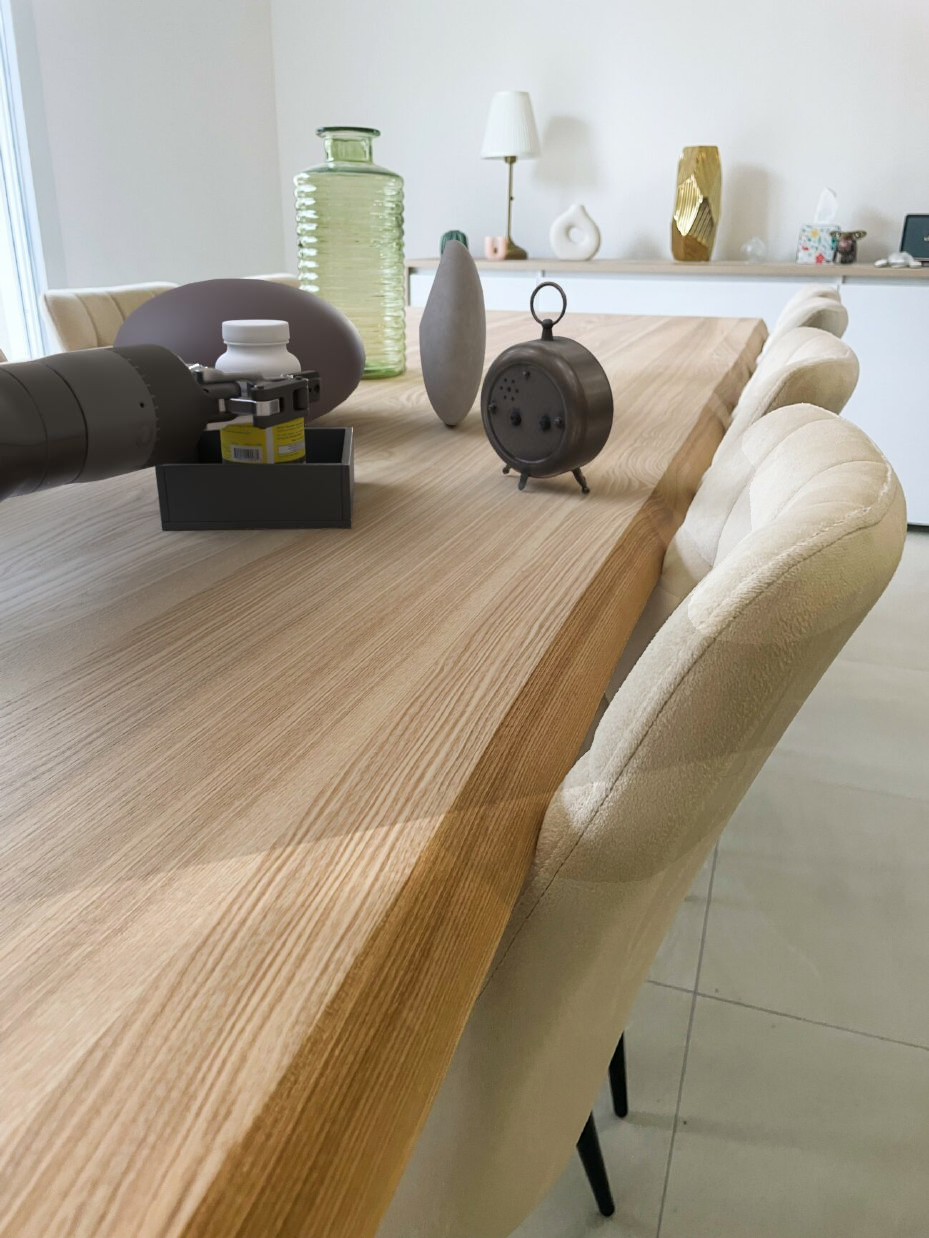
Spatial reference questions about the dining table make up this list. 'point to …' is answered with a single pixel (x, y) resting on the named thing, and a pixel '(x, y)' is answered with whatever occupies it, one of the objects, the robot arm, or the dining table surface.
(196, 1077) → the dining table surface
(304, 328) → the smooth stone
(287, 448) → the pill bottle
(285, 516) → the bin
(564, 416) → the alarm clock
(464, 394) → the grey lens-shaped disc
